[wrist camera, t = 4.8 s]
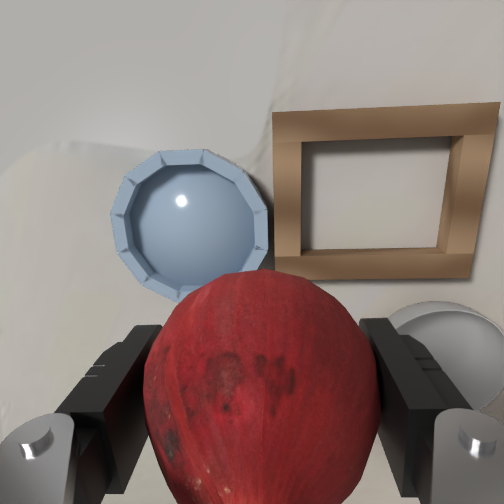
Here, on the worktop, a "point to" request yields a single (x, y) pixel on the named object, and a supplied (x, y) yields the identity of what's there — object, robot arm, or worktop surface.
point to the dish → (188, 221)
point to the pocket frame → (380, 127)
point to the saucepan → (458, 346)
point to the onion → (261, 394)
